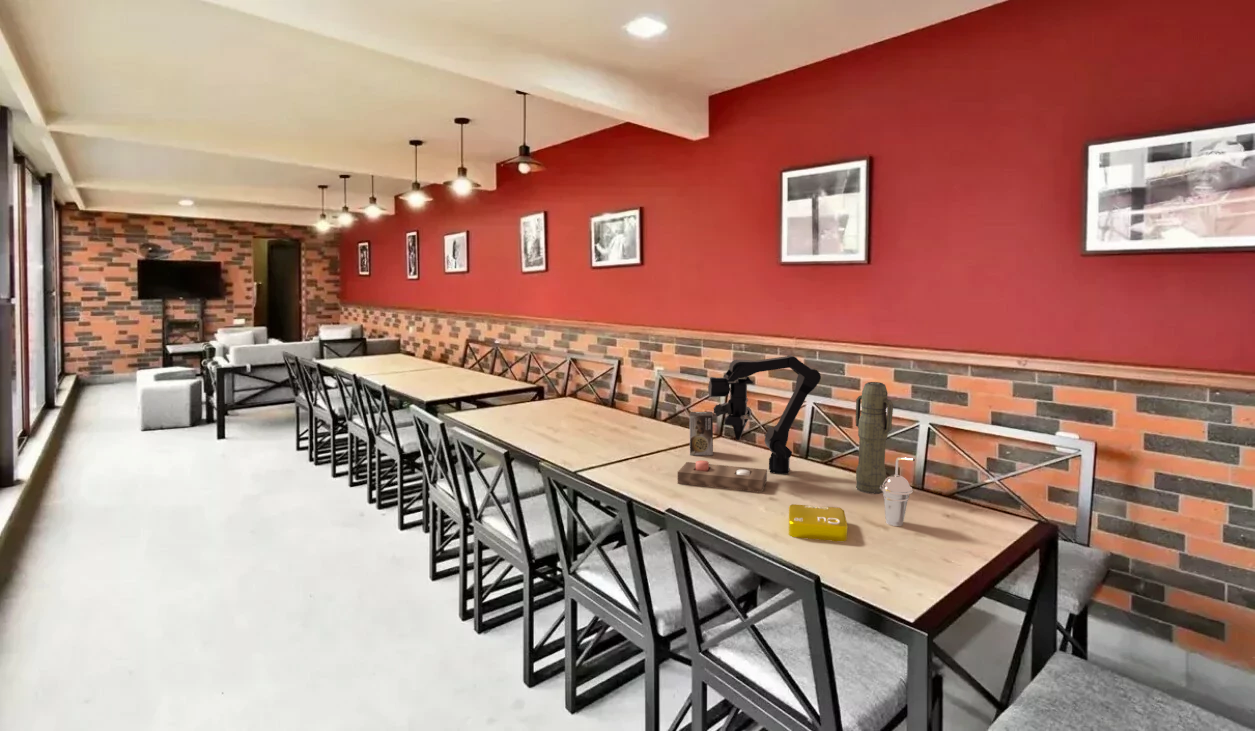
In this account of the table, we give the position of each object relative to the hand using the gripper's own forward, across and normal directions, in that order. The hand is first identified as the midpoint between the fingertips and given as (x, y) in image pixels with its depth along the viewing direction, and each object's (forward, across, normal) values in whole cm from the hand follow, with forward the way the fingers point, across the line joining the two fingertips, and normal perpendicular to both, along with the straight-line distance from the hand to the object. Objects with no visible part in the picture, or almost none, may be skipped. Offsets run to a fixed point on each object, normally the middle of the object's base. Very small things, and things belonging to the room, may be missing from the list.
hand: (737, 439), depth 222 cm
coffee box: (+12, -20, -18) cm, 30 cm away
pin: (+12, +12, +4) cm, 17 cm away
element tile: (+13, +43, +30) cm, 53 cm away
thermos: (+12, +4, +44) cm, 46 cm away
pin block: (+12, +12, -3) cm, 17 cm away
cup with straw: (+12, +32, +50) cm, 61 cm away
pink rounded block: (+10, +12, -10) cm, 18 cm away
